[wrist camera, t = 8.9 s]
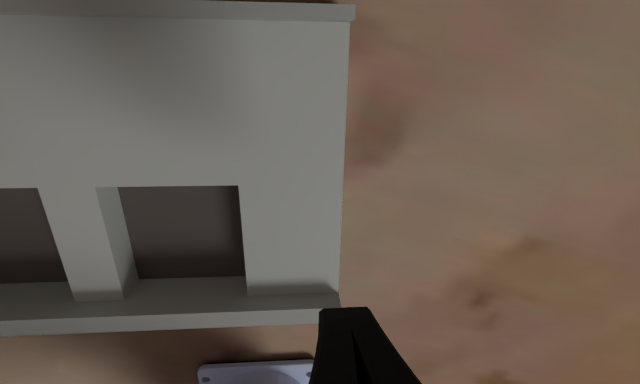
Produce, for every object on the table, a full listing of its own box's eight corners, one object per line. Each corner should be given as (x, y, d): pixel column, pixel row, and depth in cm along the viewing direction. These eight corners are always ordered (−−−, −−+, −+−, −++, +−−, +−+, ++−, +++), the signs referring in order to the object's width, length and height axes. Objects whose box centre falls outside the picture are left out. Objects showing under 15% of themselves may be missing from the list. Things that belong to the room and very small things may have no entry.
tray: (333, 284, 21) (340, 322, 18) (-45, 297, 19) (-106, 341, 16) (343, 14, 15) (355, 4, 12) (-193, 0, 14) (-328, -14, 11)
